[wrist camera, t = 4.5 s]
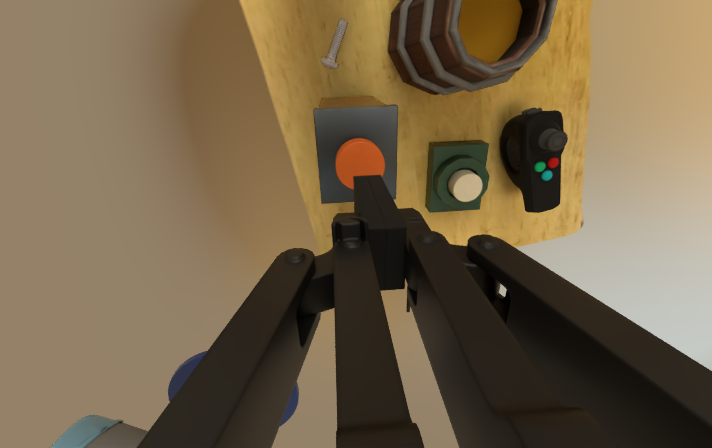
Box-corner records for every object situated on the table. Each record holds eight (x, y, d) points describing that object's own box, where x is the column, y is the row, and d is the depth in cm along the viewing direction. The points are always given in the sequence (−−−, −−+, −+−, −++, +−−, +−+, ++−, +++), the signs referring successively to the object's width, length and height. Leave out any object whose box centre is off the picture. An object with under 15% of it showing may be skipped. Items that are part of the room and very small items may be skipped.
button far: (473, 195, 41) (480, 201, 40) (446, 196, 41) (452, 202, 39) (477, 168, 40) (484, 172, 38) (449, 169, 40) (455, 174, 38)
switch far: (473, 203, 46) (485, 214, 42) (425, 206, 46) (433, 218, 42) (481, 140, 42) (495, 146, 38) (429, 142, 42) (438, 149, 38)
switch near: (373, 155, 42) (396, 199, 27) (324, 158, 42) (321, 203, 27) (373, 93, 39) (398, 105, 24) (320, 95, 38) (313, 109, 24)
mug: (494, 75, 38) (583, 77, 25) (397, 103, 39) (432, 119, 26) (484, -93, 32) (597, -215, 18) (366, -56, 32) (392, -149, 19)
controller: (523, 99, 40) (579, 107, 31) (529, 188, 45) (578, 217, 36) (490, 110, 40) (536, 121, 31) (499, 197, 46) (540, 227, 37)
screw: (319, 63, 37) (319, 63, 35) (335, 17, 35) (335, 14, 33) (336, 71, 37) (336, 71, 35) (352, 25, 35) (353, 23, 34)
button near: (382, 182, 25) (384, 189, 24) (336, 185, 25) (337, 191, 24) (382, 136, 24) (385, 140, 22) (333, 139, 24) (334, 143, 22)
